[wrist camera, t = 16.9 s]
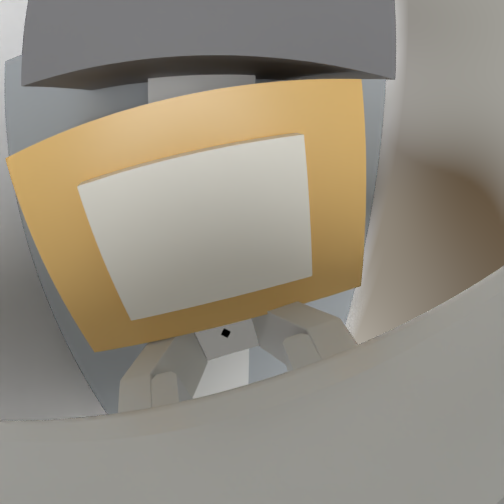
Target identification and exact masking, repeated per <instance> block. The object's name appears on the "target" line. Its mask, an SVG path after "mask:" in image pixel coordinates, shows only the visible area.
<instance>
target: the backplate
mask: <svg viewBox="0 0 504 504" xmlns="http://www.w3.org/2000/svg"><path fill="white" fill-rule="evenodd" d="M395 73H396V19H395V0H28V5H27V12H26V19H25V26H24V36H23V48H22V55H20V56H18V57H15V58H13V59H10V60H8V61H5V116H6V130H7V141H8V150H9V156H11V155H13V154H15V153H17V152H19V151H21V150H23V149H25V148H27V147H29V146H32V145H34V144H36V143H38V142H40V141H43V140H45V139H47V138H49V137H52V136H54V135H57V134H59V133H61V132H64V131H66V130H69V129H71V128H74V127H77V126H79V125H82V124H85V123H88V122H90V121H93V120H96V119H99V118H102V117H105V116H108V115H111V114H114V113H117V112H121V111H124V110H127V109H131V108H134V107H138V106H142V105H145V104H149V103H153V102H157V101H161V100H165V99H169V98H174V97H178V96H183V95H188V94H193V93H198V92H203V91H208V90H214V89H220V88H227V87H233V86H241V85H248V84H257V83H266V82H277V81H290V80H308V79H362V90H363V102H364V117H365V138H366V217H365V238H364V246H365V241H366V236H367V231H368V226H369V220H370V215H371V209H372V203H373V197H374V191H375V184H376V177H377V170H378V163H379V155H380V146H381V137H382V127H383V115H384V102H385V84H386V79H392V80H395ZM15 193H16V192H15ZM16 198H17V195H16ZM17 203H18V207H19V212H20V216H21V220H22V224H23V228H24V232H25V235H26V239H27V242H28V246H29V249H30V252H31V255H32V259H33V262H34V265H35V268H36V271H37V274H38V276H39V279H40V282H41V285H42V287H43V290H44V293H45V295H46V298H47V300H48V303H49V305H50V308H51V310H52V312H53V315H54V317H55V319H56V322H57V324H58V326H59V328H60V330H61V332H62V335H63V337H64V339H65V341H66V343H67V345H68V347H69V349H70V351H71V353H72V355H73V357H74V359H75V361H76V363H77V364H78V366H79V368H80V370H81V372H82V374H83V375H84V377H85V379H86V381H87V382H88V384H89V386H90V387H91V389H92V391H93V392H94V394H95V396H96V397H97V399H98V401H99V402H100V404H101V405H102V407H103V408H104V410H105V412H106V413H107V414H114V413H118V402H119V388H120V380H121V379H122V377H123V376H124V375H125V373H126V372H127V370H128V369H129V368H130V366H131V365H132V364H133V362H134V361H135V360H136V358H137V357H138V356H139V354H140V353H141V352H142V350H143V349H144V347H145V346H146V345H147V343H143V344H138V345H133V346H128V347H123V348H117V349H112V350H106V351H101V352H94V351H93V349H92V348H91V346H90V345H89V343H88V342H87V340H86V339H85V337H84V335H83V334H82V332H81V331H80V329H79V327H78V326H77V324H76V322H75V321H74V319H73V317H72V316H71V314H70V312H69V310H68V309H67V307H66V305H65V303H64V302H63V300H62V298H61V296H60V294H59V292H58V290H57V289H56V287H55V285H54V283H53V281H52V279H51V277H50V275H49V273H48V271H47V269H46V267H45V264H44V262H43V260H42V258H41V256H40V254H39V251H38V249H37V247H36V245H35V242H34V240H33V238H32V235H31V233H30V230H29V228H28V225H27V223H26V220H25V218H24V215H23V212H22V210H21V207H20V204H19V201H18V198H17ZM354 290H355V288H353V289H350V290H347V291H344V292H341V293H337V294H334V295H331V296H328V297H325V298H321V299H318V300H315V301H311V302H308V303H305V305H308V306H310V307H313V308H315V309H318V310H321V311H323V312H326V313H328V314H331V315H333V316H336V317H338V318H340V319H341V321H342V322H343V324H344V325H345V324H346V320H347V317H348V313H349V309H350V305H351V302H352V298H353V294H354ZM285 372H288V371H287V366H286V365H285V364H284V363H282V362H281V361H280V360H278V359H277V358H275V357H274V356H272V355H271V354H269V353H268V352H266V351H265V350H264V349H262V348H261V347H260V346H257V347H253V348H250V349H246V350H242V351H239V352H235V353H231V354H228V355H225V356H222V357H219V358H215V359H212V360H209V361H208V363H207V366H206V368H205V370H204V373H203V375H202V377H201V380H200V382H199V385H198V387H197V389H196V392H195V394H194V396H193V399H194V398H199V397H203V396H207V395H211V394H215V393H219V392H222V391H226V390H230V389H233V388H237V387H240V386H244V385H247V384H251V383H254V382H257V381H260V380H264V379H267V378H270V377H273V376H276V375H279V374H282V373H285Z"/></svg>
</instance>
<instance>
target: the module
mask: <svg viewBox="0 0 504 504" xmlns="http://www.w3.org/2000/svg"><path fill="white" fill-rule="evenodd" d="M5 159H6V162H7V166H8V170H9V173H10V176H11V180H12V183H13V186H14V189H15V192H16V195H17V198H18V201H19V204H20V207H21V210H22V212H23V215H24V218H25V220H26V223H27V225H28V228H29V230H30V233H31V235H32V238H33V240H34V242H35V245H36V247H37V249H38V251H39V254H40V256H41V258H42V260H43V262H44V264H45V267H46V269H47V271H48V273H49V275H50V277H51V279H52V281H53V283H54V285H55V287H56V289H57V290H58V292H59V294H60V296H61V298H62V300H63V302H64V303H65V305H66V307H67V309H68V310H69V312H70V314H71V316H72V317H73V319H74V321H75V322H76V324H77V326H78V327H79V329H80V331H81V332H82V334H83V335H84V337H85V339H86V340H87V342H88V343H89V345H90V346H91V348H92V349H93V351H94V352H101V351H106V350H112V349H117V348H123V347H128V346H133V345H138V344H143V343H148V342H153V341H158V340H163V339H168V338H172V337H177V336H181V335H186V334H190V333H194V332H199V331H203V330H207V329H211V328H216V327H220V326H224V325H228V324H232V323H236V322H240V321H243V320H247V319H251V318H255V317H259V316H262V315H266V314H268V313H267V311H270V310H273V309H276V308H279V307H282V306H285V305H288V304H291V303H294V302H297V301H298V302H300V303H303V304H305V303H308V302H311V301H315V300H318V299H321V298H325V297H328V296H331V295H334V294H337V293H341V292H344V291H347V290H350V289H353V288H356V287H359V286H361V279H362V267H363V254H364V238H365V217H366V138H365V117H364V102H363V90H362V79H308V80H290V81H277V82H266V83H257V84H248V85H241V86H233V87H227V88H220V89H214V90H208V91H203V92H198V93H193V94H188V95H183V96H178V97H174V98H169V99H165V100H161V101H157V102H153V103H149V104H145V105H142V106H138V107H134V108H131V109H127V110H124V111H121V112H117V113H114V114H111V115H108V116H105V117H102V118H99V119H96V120H93V121H90V122H88V123H85V124H82V125H79V126H77V127H74V128H71V129H69V130H66V131H64V132H61V133H59V134H57V135H54V136H52V137H49V138H47V139H45V140H43V141H40V142H38V143H36V144H34V145H32V146H29V147H27V148H25V149H23V150H21V151H19V152H17V153H15V154H13V155H11V156H9V157H7V158H5Z"/></svg>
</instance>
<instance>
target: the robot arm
mask: <svg viewBox="0 0 504 504" xmlns="http://www.w3.org/2000/svg"><path fill="white" fill-rule="evenodd" d="M267 313H268V314H266V315H262V316H259V317H255V318H251V319H247V320H243V321H240V322H236V323H232V324H228V325H224V326H220V327H216V328H211V329H207V330H203V331H199V332H194V333H190V334H186V335H181V336H177V337H172V338H168V339H163V340H158V341H153V342H148V343H147V345H146V346H145V347H144V349H143V350H142V352H141V353H140V354H139V356H138V357H137V358H136V360H135V361H134V362H133V364H132V365H131V366H130V368H129V369H128V370H127V372H126V373H125V375H124V376H123V377H122V379H121V380H120V388H119V402H118V413H114V414H107V415H99V416H90V417H80V418H68V419H54V420H29V421H2V420H0V504H504V266H503V267H501V268H500V269H499V270H497V271H495V272H494V273H492V274H491V275H489V276H488V277H486V278H485V279H483V280H481V281H480V282H478V283H476V284H475V285H473V286H472V287H470V288H468V289H467V290H465V291H463V292H462V293H460V294H458V295H456V296H455V297H453V298H451V299H450V300H448V301H446V302H444V303H443V304H441V305H439V306H437V307H435V308H433V309H431V310H429V311H428V312H426V313H424V314H422V315H420V316H418V317H416V318H414V319H412V320H410V321H408V322H406V323H404V324H402V325H400V326H398V327H396V328H394V329H392V330H390V331H388V332H385V333H383V334H381V335H379V336H377V337H375V338H373V339H370V340H368V341H366V342H363V343H361V344H359V345H358V344H357V343H356V341H355V339H354V338H353V337H352V335H351V334H350V332H349V331H348V329H347V328H346V326H345V325H344V324H343V322H342V321H341V319H340V318H338V317H336V316H333V315H331V314H328V313H326V312H323V311H321V310H318V309H315V308H313V307H310V306H308V305H305V304H303V303H300V302H298V301H297V302H294V303H291V304H288V305H285V306H282V307H279V308H276V309H273V310H270V311H267ZM257 346H260V347H261V348H262V349H264V350H265V351H266V352H268V353H269V354H271V355H272V356H274V357H275V358H277V359H278V360H280V361H281V362H282V363H284V364H285V365H286V366H287V371H288V372H285V373H282V374H279V375H276V376H273V377H270V378H267V379H264V380H260V381H257V382H254V383H251V384H247V385H244V386H240V387H237V388H233V389H230V390H226V391H222V392H219V393H215V394H211V395H207V396H203V397H199V398H194V399H193V396H194V394H195V392H196V389H197V387H198V385H199V382H200V380H201V377H202V375H203V373H204V370H205V368H206V366H207V363H208V361H209V360H212V359H215V358H219V357H222V356H225V355H228V354H231V353H235V352H239V351H242V350H246V349H250V348H253V347H257Z"/></svg>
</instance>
